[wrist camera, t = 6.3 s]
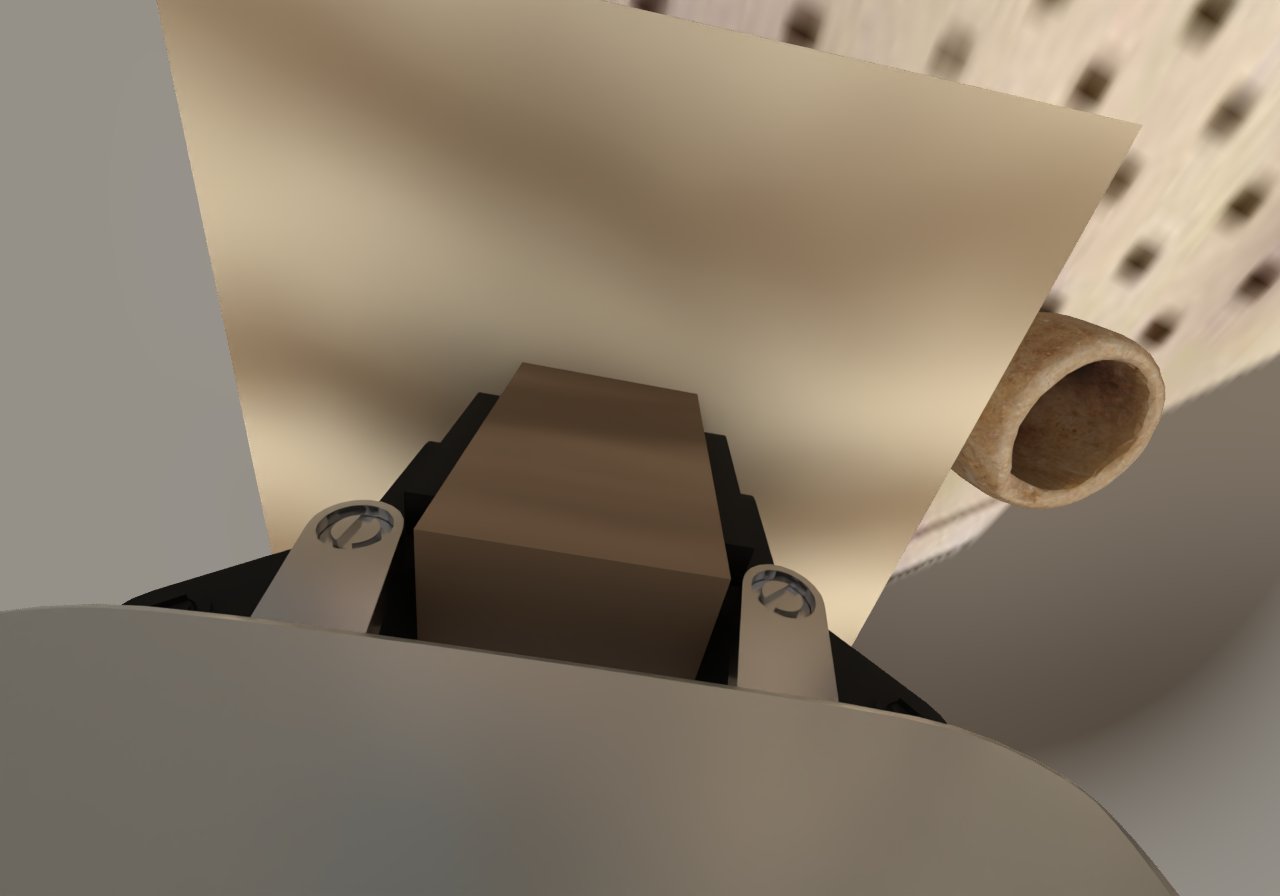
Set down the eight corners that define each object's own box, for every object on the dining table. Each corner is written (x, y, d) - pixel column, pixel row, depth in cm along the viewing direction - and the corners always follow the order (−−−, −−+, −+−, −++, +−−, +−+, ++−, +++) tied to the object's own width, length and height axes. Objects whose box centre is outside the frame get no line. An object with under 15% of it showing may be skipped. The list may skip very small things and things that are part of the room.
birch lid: (194, -78, 9) (-838, -606, 3) (1092, 128, 10) (1789, 80, 4) (312, 610, 17) (115, 869, 11) (804, 682, 18) (882, 953, 12)
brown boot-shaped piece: (1028, 366, 38) (1228, 473, 25) (879, 456, 42) (984, 590, 29) (937, 188, 33) (1131, 205, 19) (775, 310, 36) (846, 392, 23)
